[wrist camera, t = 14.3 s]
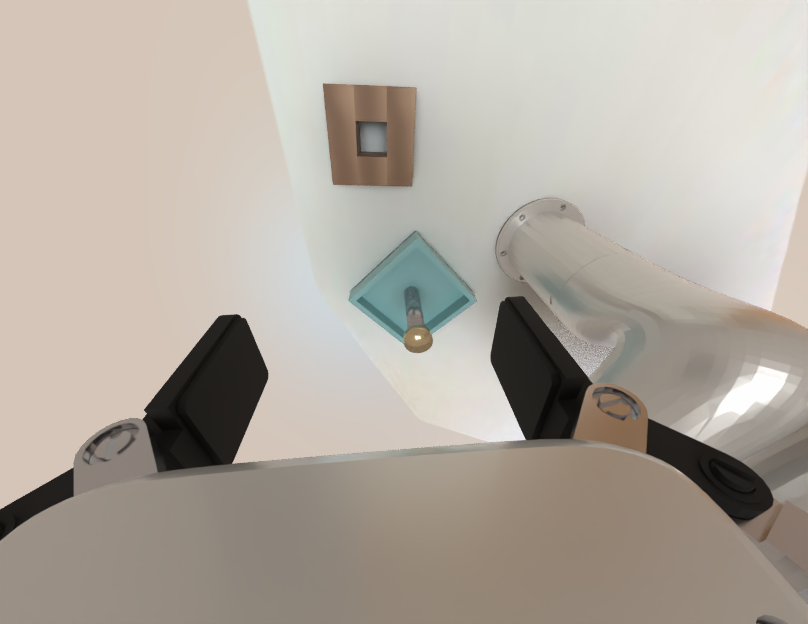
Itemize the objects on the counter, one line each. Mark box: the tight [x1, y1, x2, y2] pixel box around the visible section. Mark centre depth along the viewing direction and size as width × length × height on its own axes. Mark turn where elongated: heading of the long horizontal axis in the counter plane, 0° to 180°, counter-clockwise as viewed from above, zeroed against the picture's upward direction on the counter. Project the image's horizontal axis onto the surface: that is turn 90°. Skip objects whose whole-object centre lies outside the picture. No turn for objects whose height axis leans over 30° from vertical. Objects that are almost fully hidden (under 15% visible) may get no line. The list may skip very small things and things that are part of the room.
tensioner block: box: [323, 84, 416, 186], centre depth 32 cm, size 9×9×5 cm
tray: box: [349, 231, 477, 344], centre depth 45 cm, size 14×14×3 cm
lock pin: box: [404, 286, 433, 353], centre depth 41 cm, size 4×4×12 cm
